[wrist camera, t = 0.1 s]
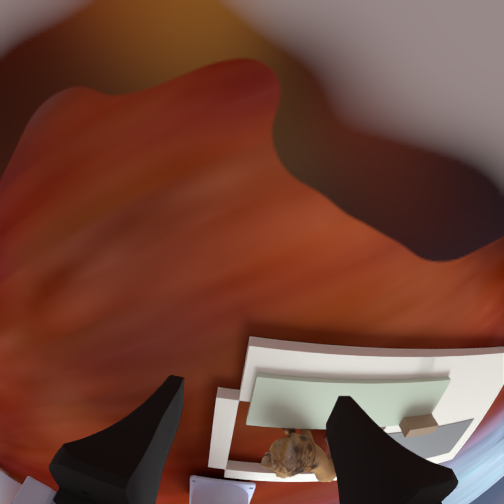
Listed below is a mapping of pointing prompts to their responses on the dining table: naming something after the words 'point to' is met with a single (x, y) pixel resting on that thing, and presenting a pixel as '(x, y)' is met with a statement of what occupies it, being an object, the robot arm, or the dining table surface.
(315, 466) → the lion figurine
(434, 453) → the puzzle board
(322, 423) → the shutter
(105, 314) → the dining table surface
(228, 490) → the robot arm
